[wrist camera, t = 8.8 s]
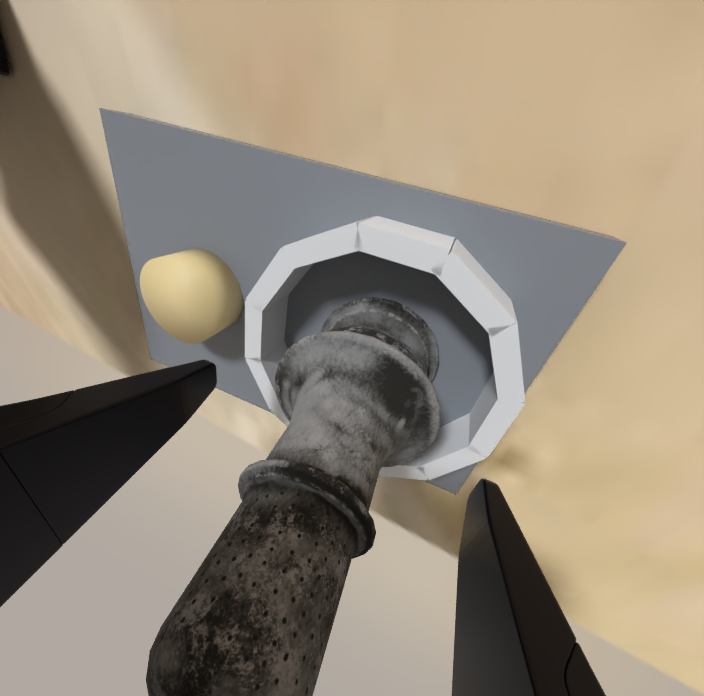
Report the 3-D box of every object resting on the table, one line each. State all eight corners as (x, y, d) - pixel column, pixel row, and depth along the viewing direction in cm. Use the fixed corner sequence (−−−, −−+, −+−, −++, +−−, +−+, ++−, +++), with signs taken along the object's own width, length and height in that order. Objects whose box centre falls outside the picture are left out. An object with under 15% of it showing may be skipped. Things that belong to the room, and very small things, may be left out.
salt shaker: (307, 379, 15) (35, 758, 6) (324, 269, 12) (-267, 745, 2) (418, 422, 15) (324, 949, 5) (472, 318, 11) (504, 1353, 2)
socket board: (166, 350, 21) (120, 375, 18) (126, 112, 14) (42, 97, 11) (457, 476, 17) (452, 531, 14) (611, 236, 10) (660, 257, 7)
